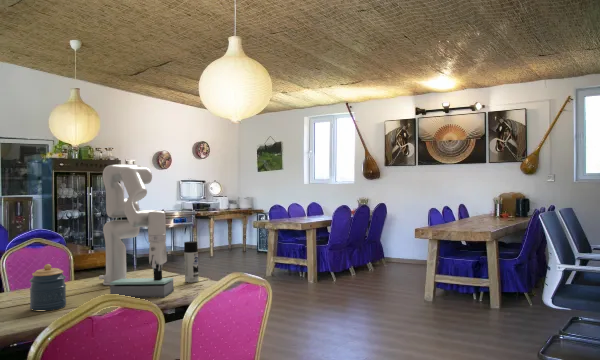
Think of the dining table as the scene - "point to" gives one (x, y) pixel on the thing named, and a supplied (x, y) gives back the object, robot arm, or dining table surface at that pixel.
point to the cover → (140, 281)
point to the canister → (48, 289)
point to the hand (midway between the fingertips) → (157, 279)
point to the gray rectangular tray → (143, 290)
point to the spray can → (191, 261)
